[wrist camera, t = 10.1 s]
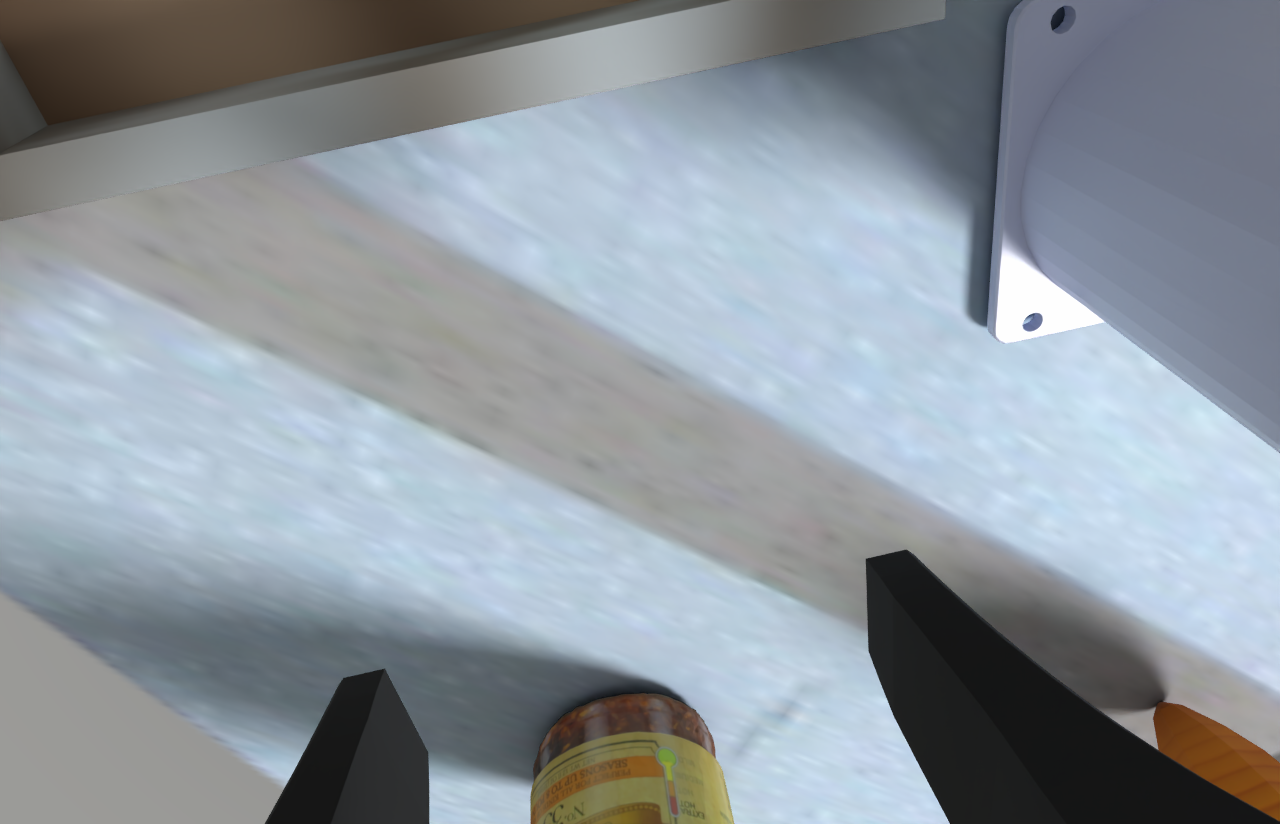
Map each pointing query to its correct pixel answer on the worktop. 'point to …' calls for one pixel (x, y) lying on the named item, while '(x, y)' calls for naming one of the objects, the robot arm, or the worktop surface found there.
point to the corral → (339, 74)
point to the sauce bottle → (629, 766)
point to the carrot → (1219, 756)
